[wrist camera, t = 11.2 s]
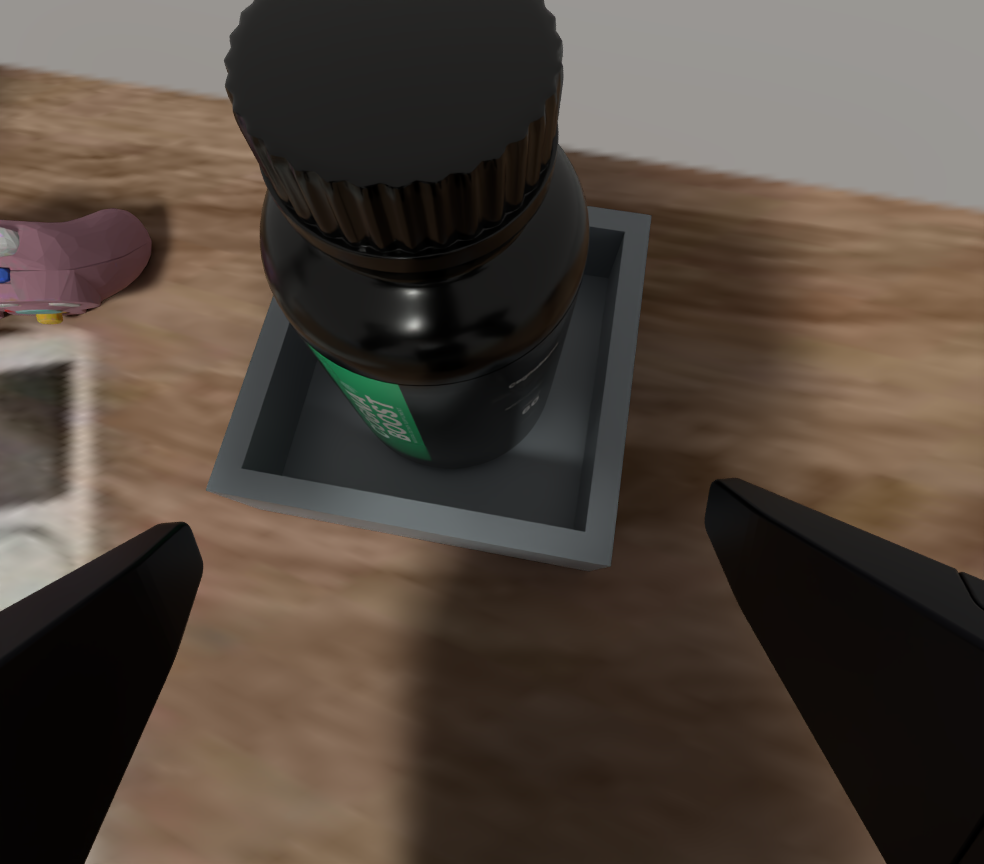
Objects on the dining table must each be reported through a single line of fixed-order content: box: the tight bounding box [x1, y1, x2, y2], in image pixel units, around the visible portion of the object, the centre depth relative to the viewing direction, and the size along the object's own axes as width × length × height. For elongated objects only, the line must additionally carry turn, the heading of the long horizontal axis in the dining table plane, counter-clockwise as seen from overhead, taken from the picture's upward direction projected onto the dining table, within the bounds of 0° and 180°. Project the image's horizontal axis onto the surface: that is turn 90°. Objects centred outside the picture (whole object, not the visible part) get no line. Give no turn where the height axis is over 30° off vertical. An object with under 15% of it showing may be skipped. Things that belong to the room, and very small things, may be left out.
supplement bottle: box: [224, 0, 590, 469], centre depth 13 cm, size 7×7×12 cm
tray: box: [206, 206, 651, 571], centre depth 18 cm, size 12×12×4 cm
